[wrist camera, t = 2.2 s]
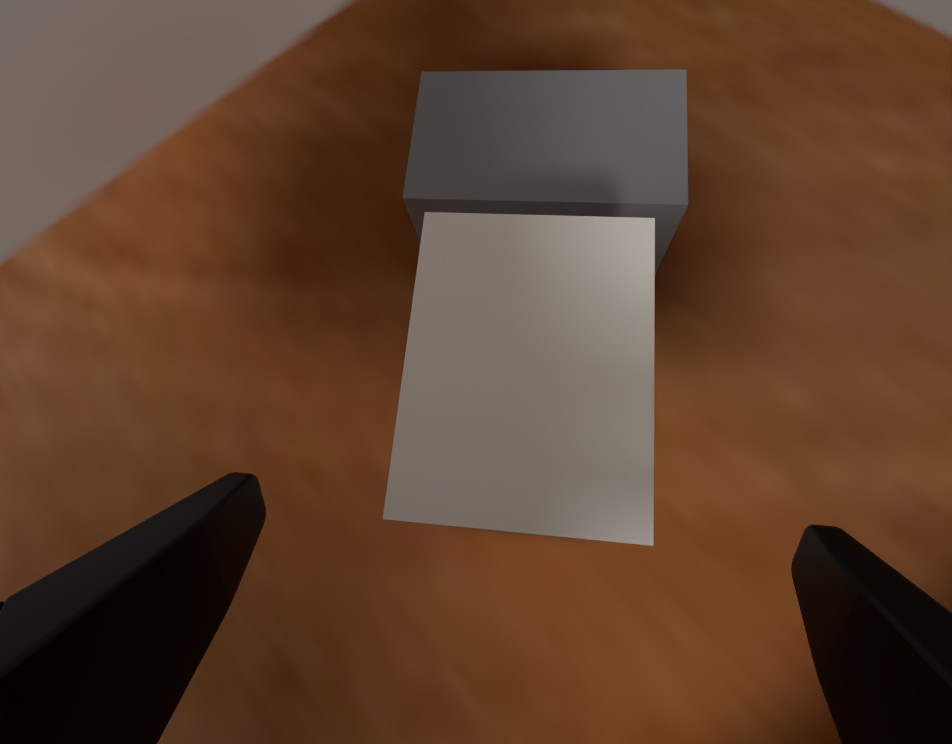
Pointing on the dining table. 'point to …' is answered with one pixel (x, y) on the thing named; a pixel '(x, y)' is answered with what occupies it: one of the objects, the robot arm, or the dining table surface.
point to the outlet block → (551, 145)
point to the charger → (529, 378)
